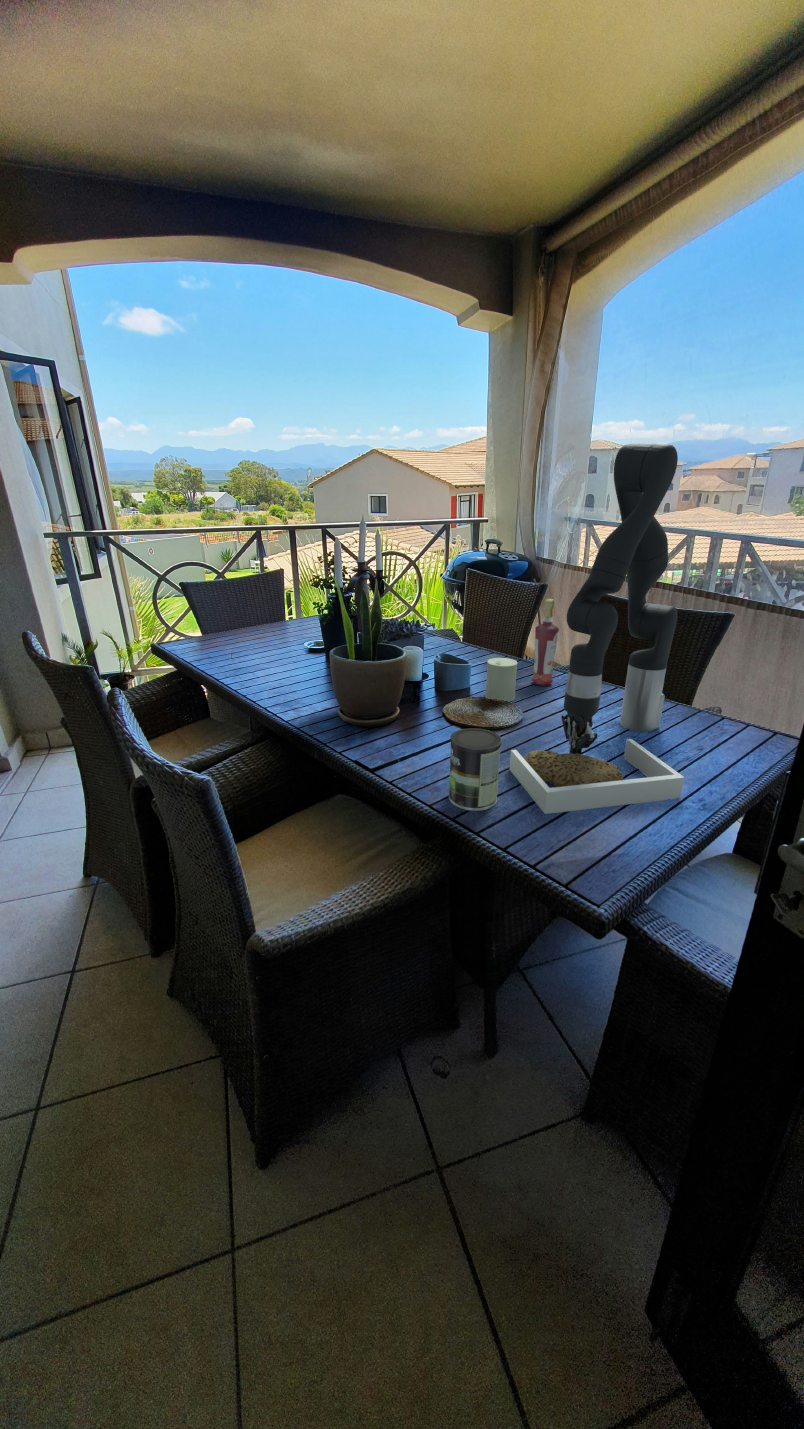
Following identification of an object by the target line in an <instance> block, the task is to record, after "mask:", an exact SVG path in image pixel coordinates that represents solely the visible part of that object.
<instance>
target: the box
mask: <svg viewBox="0 0 804 1429" xmlns="http://www.w3.org/2000/svg"><path fill="white" fill-rule="evenodd" d="M524 758H525V757H523V756H522V754H520V753H519V751H518V750H517V749H511V750H510V758H509V771H510V772H511V773H512V774H513V776H514V777H515V778H516V780H517V781H518V782H519V783H520V785H521V786H522V788H523V789H525V791H526V792H527V793H528V795H529V796H530V797H531V798H532V800H533V801H534V802H535V804H536V805H537V806H538V807H539V808H540V810H541V811H542V812H543V813H544V814H545V815H547V814H556V813H564V812H565V813H567V812H573V811H582V810H591V809H599V808H609V807H616V806H617V807H618V806H626V805H633V804H634V805H635V804H642V803H652V802H661V801H662V802H663V801H668V799H670V800H676V799H675V798H679V799H681V796H682V790H683V787H684V782H685V776H683V775H682V774H680V773H679V772H678V771H676V770H675V769H674V768H672V767H671V766H669V765H668V764H667V763H665V762H664V761H662V760H661V759H660V758H659V757H658V756H656V755H654V753H651V752H650V751H649V750H647V749H646V748H645V747H643V746H642V745H641V744H639V743H638V742H636V741H635V740H634V739H632V738H627V739H626V741H625V747H624V754H623V758H625V759H624V760H626V761H627V762H628V763H629V762H630V763H629V764H630V765H631V766H633V765H634V766H635V768H636V767H637V768H638V769H639V770H640V771H639V772H641V771H642V772H643V773H644V774H645V775H644V774H643V773H642V772H641V773H642V774H643V775H644V776H646V775H647V776H648V777H647V776H646V777H640V778H638V777H637V778H631V779H630V778H629V779H623V780H620V781H610V782H601V783H592V784H582V785H573V786H564V787H561V786H556V787H550V786H549V785H548V784H547V782H545V781H543V780H542V779H541V778H540V777H539V775H538V774H537V773H536V772H535V771H534V770H533V769H532V767H531V766H530V765H529V764H528V763H527V762H526V761H525V759H524ZM634 766H633V767H634ZM637 768H636V769H637ZM638 769H637V770H638Z"/></svg>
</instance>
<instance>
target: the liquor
mask: <svg viewBox="0 0 804 1429" xmlns="http://www.w3.org/2000/svg"><path fill="white" fill-rule="evenodd" d="M544 601H545V602H544V606H545V607H544V608H545V610H544V614H543V620H542V623H540V624H537V625H536V626H535V633H534V634H535V636H534V660H533V663H534V664H533V677H532V678H531V681H532V682H533V683H534V685H537V686H539V687H547V686H549V685H551V684H552V683H553V682H554V680H553V672H554V665H555V664H554V663H555V657H556V651H557V645H558V639H559V630H560V628H559V627H558V625H556V624H554V623H553V616H554V615H553V609H554V604H555V599H553V598H546V599H545V600H544Z"/></svg>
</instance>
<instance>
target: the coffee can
mask: <svg viewBox="0 0 804 1429" xmlns="http://www.w3.org/2000/svg"><path fill="white" fill-rule="evenodd" d="M501 745H502V737H501V736H500V735H499V734H498V733H496V732H495V731H492V730H488V729H485V728H479V727H478V728H477V727H469V728H462V729H459V730H456V731H454V732H453V733H451V734H450V757H449V758H450V760H449V762H450V763H449V786H448V787H449V788H448V790H449V791H448V799H449V802H450V803H451V804H452V805H453V806H455V807H456V808H458V809H461V810H465V811H469V812H480V811H481V812H482V811H485V810H489V809H491V808H492V807H494V806H495V805H496V804H497V801H498V786H499V785H498V784H499V783H498V782H499V773H500V772H499V771H500V758H501Z"/></svg>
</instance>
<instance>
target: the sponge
mask: <svg viewBox="0 0 804 1429" xmlns="http://www.w3.org/2000/svg"><path fill="white" fill-rule="evenodd" d="M569 753H570V752H567V753H558V752H555V751H553V750H547V751H546V750H545V751H544V750H543V751H542V750H532V751H530V752H528V754H527V756H525V757H523V758H524V759H525V761H526V762H527V763H528V764H529V765H530V766H531V767H532V769H533V770H534V771H535V772H536V773H537V774H538V775H539V777H540V778H541V779H542V780H543V781H544V782H545V783H548V784H551V785H555V786H556V787H564V786H573V785H582V784H592V783H601V782H610V781H620V780H624V777H625V774H623V773H622V772H621V770H620V768H619V767H618V766H617V765H615V764H614V763H612V762H611V763H610V762H608V761H606V760H602V759H600V758H597V757H593V756H590V755H586V754H583V753H581V754H577V753H576V754H569Z"/></svg>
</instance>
